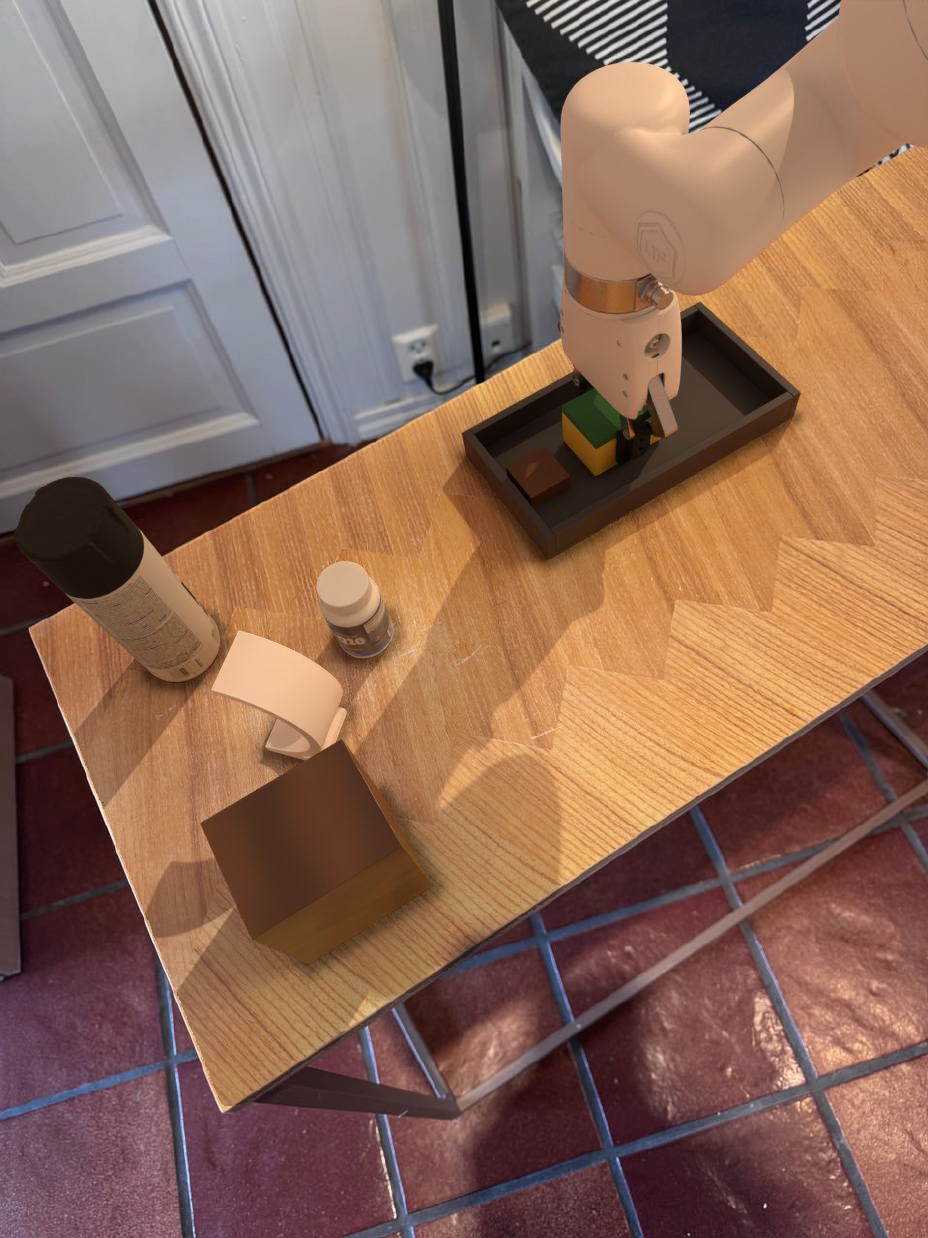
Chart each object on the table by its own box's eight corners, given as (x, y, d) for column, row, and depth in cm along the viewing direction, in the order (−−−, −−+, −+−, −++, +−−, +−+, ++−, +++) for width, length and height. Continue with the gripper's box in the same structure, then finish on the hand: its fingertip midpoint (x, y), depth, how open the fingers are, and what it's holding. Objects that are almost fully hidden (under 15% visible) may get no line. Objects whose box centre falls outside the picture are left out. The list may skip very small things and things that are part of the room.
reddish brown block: (545, 455, 78) (544, 445, 77) (570, 486, 76) (570, 475, 75) (506, 477, 77) (505, 467, 76) (531, 508, 76) (530, 498, 74)
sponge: (627, 402, 79) (629, 366, 75) (662, 438, 77) (666, 403, 73) (562, 439, 78) (561, 405, 74) (595, 477, 76) (595, 443, 72)
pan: (696, 326, 84) (700, 300, 81) (793, 416, 77) (801, 392, 75) (465, 454, 80) (461, 432, 77) (548, 560, 74) (546, 540, 71)
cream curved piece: (290, 697, 71) (238, 629, 60) (359, 715, 69) (319, 649, 59) (267, 750, 69) (210, 690, 58) (338, 770, 67) (292, 711, 57)
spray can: (235, 621, 75) (127, 479, 57) (204, 693, 72) (80, 568, 54) (166, 607, 76) (40, 464, 59) (132, 677, 74) (-10, 550, 56)
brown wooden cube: (381, 793, 66) (342, 738, 56) (433, 886, 63) (402, 846, 52) (262, 865, 65) (199, 823, 54) (309, 965, 61) (251, 940, 51)
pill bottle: (327, 645, 73) (297, 595, 65) (358, 599, 74) (333, 546, 67) (374, 669, 71) (350, 621, 64) (405, 622, 73) (385, 570, 65)
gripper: (743, 310, 58) (709, 477, 74) (592, 179, 66) (591, 356, 82) (649, 363, 57) (635, 521, 73) (507, 223, 65) (523, 394, 81)
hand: (612, 432), depth 77 cm, fingers closed on sponge, 5 cm apart
